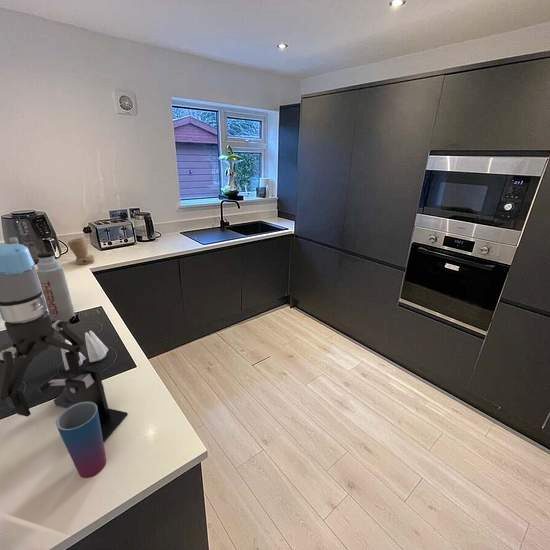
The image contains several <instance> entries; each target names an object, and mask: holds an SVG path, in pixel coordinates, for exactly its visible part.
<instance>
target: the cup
mask: <svg viewBox="0 0 550 550" xmlns="http://www.w3.org/2000/svg"><path fill="white" fill-rule="evenodd" d="M55 426H56V428H57V430H58V432H59V434H60V436H61V439H62V441H63V444H64V446H65V447H66V449H67V453H68V454H69V456H70V458H71V460H72V462H73V464H74V467H75V469H76V471H77V473H78V475H79V477H81V478H82V479H90V478H93V477H95V476H96V475H98V474H100V473H101V472H102V471H103V469H104V468H105V466H106V464H107V456H106V449H105V443H103V438H102V432H101V426H100V420H99V414H98V408H97V405H96V404H95V403H93V402H81V403H77V404H75V405H72V406H70V407H69V408H65V409H64V410H63V411H62V412H61V413H60V414H59V415H58V417H57V418H56V421H55Z"/></svg>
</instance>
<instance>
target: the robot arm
mask: <svg viewBox="0 0 550 550" xmlns="http://www.w3.org/2000/svg"><path fill="white" fill-rule="evenodd" d="M35 265H36V263H35V261H34V259H33V258H32V255H31V252H30V250H29V248H28V247H27V246H25V245H24V244H20V243H19V244H10V243H9V244H8V243H3V244H0V316H1V320H2V321H3V322H4V326H5V330H6V332H7V335H8V337H9V339H10V340H11V342H12V344H11V347H8V348H5V349H4V350H3V349H0V401H4V400H6V402H7V404H8V406H9V407H11V408H14V409H15V411H16V414H17V415H19V416H23V417H27V418H28V417H29V416H31V415H32V413H31V411H30V408H29V406H28V405H29V404H28V402H27V400H26V397H25V395H24V393H23V391H22V390H19V389H20V387H21V384H22V382H23V379H24V377H25V374H26V372H27V370H28V367H29V365H30V363H32V362H33V359H34V358H35V357H37V356H39V355H40V354H41V353H42V352H44V351H47V350H48V349H49V348H50V346H53V347H57V348H59V349H61V348H62V349H65V350H68V351H69V352H66V353H65V356H66V359H67V362H68V366H69V369H68V370H69V373H70V374H71V375H76V376H79V375H81V372H80V368H81V366H80V365H79V362H78V361H80V357H79V353H78V352H80V353H81V351H82V348H81V347H82V346H83V345H84V344H85V342H84V341H83V340H82V338H80V337H79V336H78V335H76V334H75V333H74V331H72V330H71V329H70V328H69V327H68V325H67V323H65V321H60V320H54V321H53V323H52V321H51V318H50V315H49V311H48V308H47V305H46V301H45V297H44V294H43V291H42V288H41V285H40V281H39V278H38V275H37V271H36V270H37V268H36V266H35ZM55 331H56V332H57V333H59V334H60V335H61V336H62V337H63V338H64V339H65V340H68V341H69V342H70V343H71V344H72V345H70V344H67V343H65V341H63V342H62V340H60V339H57V338H54V335H55ZM24 356H26V357H24Z"/></svg>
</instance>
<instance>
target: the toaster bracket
mask: <svg viewBox="0 0 550 550" xmlns="http://www.w3.org/2000/svg"><path fill="white" fill-rule="evenodd" d="M80 372H81V374H90V375H91V377H92V379H93V381H94V383H92V384H91V385H90V386H89V387H88V388H86V385H85V381H80V380H76V379H75V378H71V377H67V378H65V379H66V380H65V384H66V385H65V386H66V388H67V391H68V394H69V397H70V400H71V404H72V405H75V404H77V403H81V402H93V403H95V404H96V405H97V408H98V414H99V420H100V426H101V432H102V438H103V444H105V442H106V441H107V440H108V439H109V438H110V436H111V435H112V434H113V433H114V431H116V430H117V428H118V427H119V426H120V424H121V423H122V422H123V421H124V420H125V419H126V418H127V416H128V415H129V414H128V412H126V411H122V410H119V409H114V408H109V405H108V401H107V397H106V393H105V388H104V385H102V384H103V381H102V376H101V373H100V369H99V368H98V369H97V368H93V367H87V366H81V367H80ZM81 374H80V375H81ZM103 388H104V389H103Z"/></svg>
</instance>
